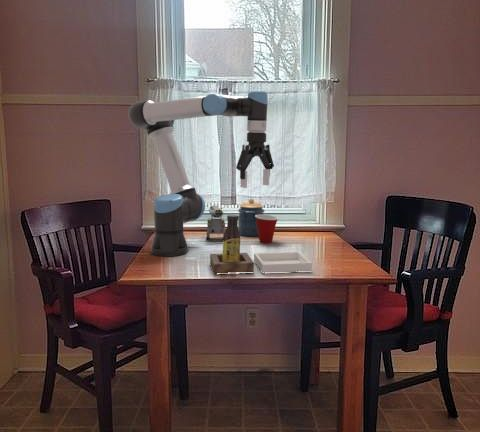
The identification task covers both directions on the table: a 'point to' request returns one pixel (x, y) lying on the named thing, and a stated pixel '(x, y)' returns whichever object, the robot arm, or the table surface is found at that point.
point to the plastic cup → (266, 227)
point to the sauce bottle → (231, 240)
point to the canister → (249, 218)
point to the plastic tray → (282, 262)
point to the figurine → (215, 222)
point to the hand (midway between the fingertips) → (255, 186)
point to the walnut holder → (231, 264)
